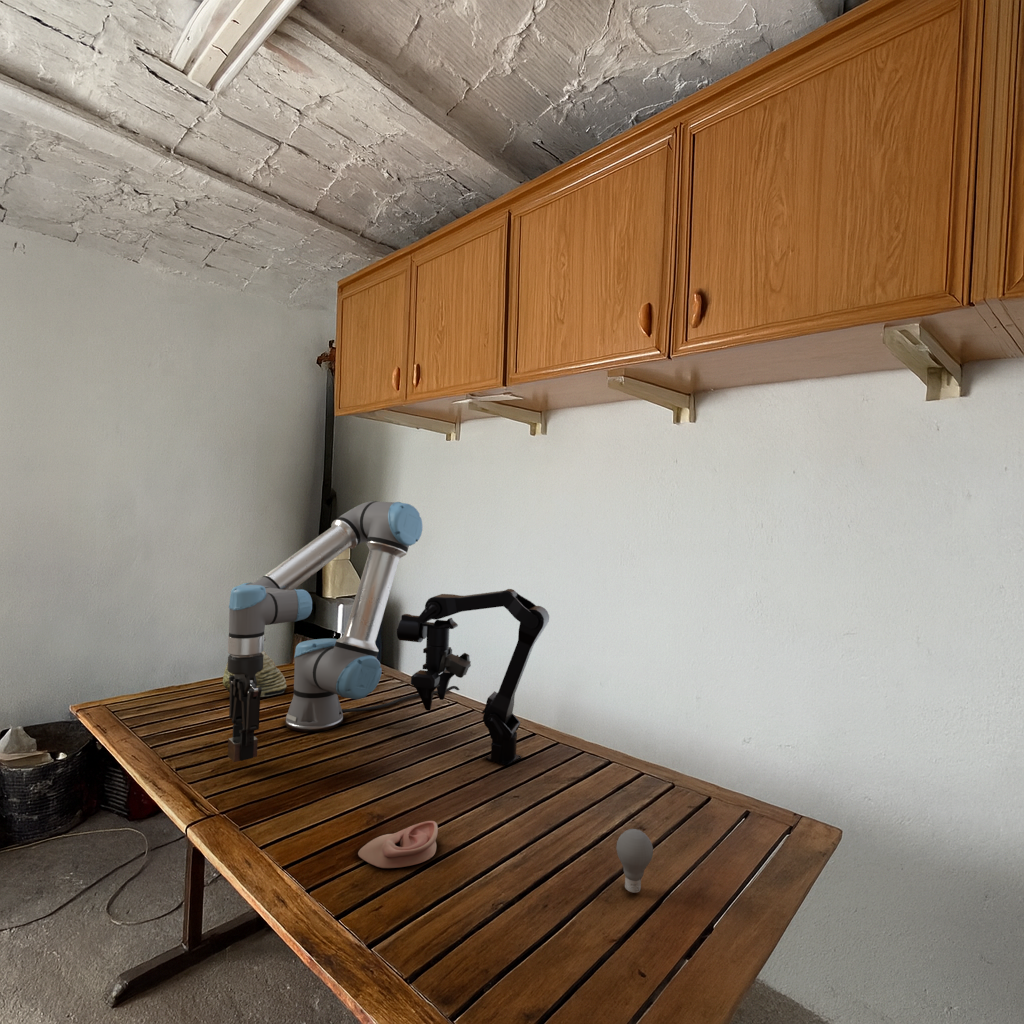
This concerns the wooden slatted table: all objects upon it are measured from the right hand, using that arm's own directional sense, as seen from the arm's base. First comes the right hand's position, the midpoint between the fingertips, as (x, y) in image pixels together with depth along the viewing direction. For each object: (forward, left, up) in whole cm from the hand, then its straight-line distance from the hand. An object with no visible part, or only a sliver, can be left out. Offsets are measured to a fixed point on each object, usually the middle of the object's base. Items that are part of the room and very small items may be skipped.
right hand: (435, 704), depth 162 cm
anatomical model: (+40, +27, -11) cm, 49 cm away
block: (+38, -24, -8) cm, 46 cm away
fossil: (+5, -70, -11) cm, 71 cm away
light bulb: (+23, +66, -11) cm, 70 cm away
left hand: (+38, -24, -8) cm, 46 cm away
